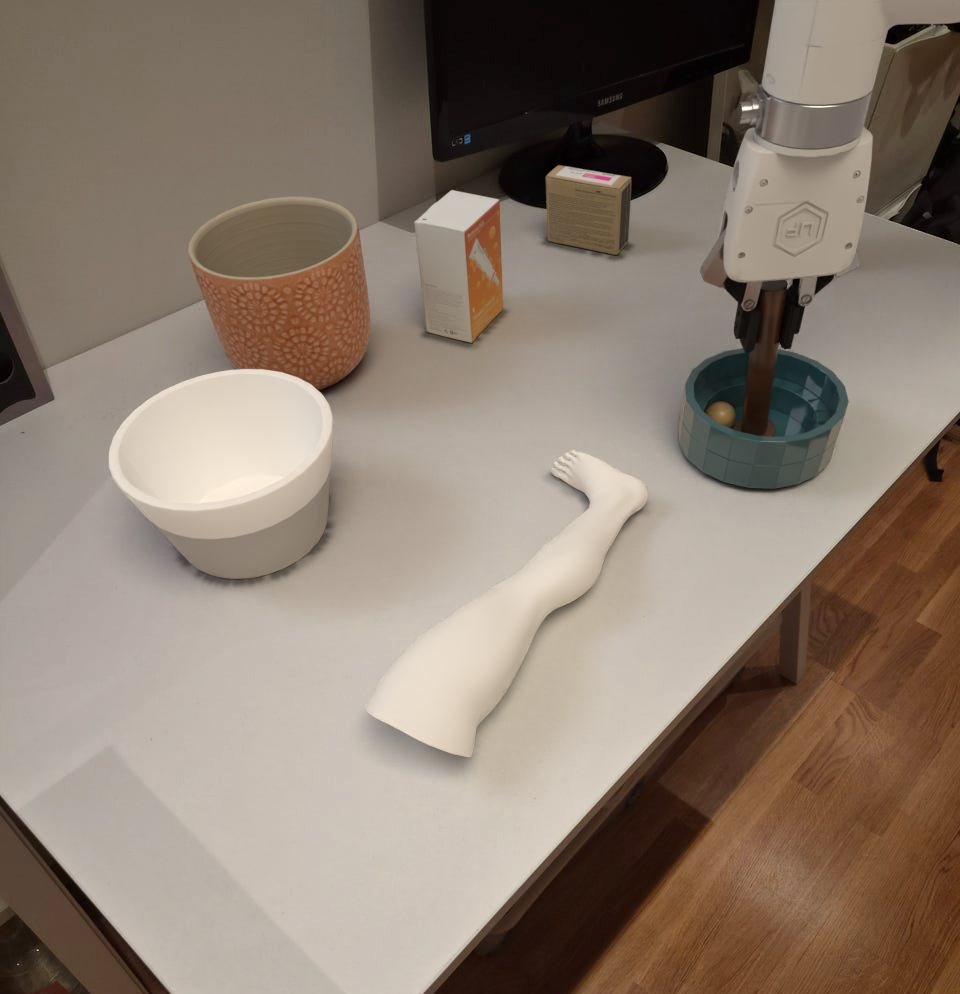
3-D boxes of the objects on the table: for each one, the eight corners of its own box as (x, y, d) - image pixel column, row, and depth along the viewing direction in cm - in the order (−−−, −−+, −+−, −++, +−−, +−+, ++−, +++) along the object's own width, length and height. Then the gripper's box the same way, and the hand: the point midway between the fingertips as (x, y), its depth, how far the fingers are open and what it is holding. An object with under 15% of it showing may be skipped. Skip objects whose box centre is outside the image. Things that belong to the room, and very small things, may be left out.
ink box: (629, 244, 111) (634, 175, 105) (616, 257, 109) (621, 189, 103) (558, 229, 115) (558, 162, 108) (544, 242, 113) (544, 174, 106)
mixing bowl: (858, 435, 85) (877, 383, 80) (780, 515, 79) (795, 463, 74) (729, 381, 92) (739, 330, 87) (648, 451, 85) (654, 400, 81)
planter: (365, 314, 104) (341, 184, 93) (394, 393, 94) (372, 258, 82) (224, 343, 102) (182, 213, 90) (239, 428, 92) (193, 293, 80)
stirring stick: (782, 432, 84) (807, 278, 72) (759, 455, 83) (780, 301, 70) (746, 418, 86) (764, 266, 74) (723, 440, 85) (737, 288, 72)
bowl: (362, 581, 77) (340, 489, 68) (144, 617, 76) (94, 527, 67) (347, 446, 89) (327, 354, 80) (159, 475, 88) (118, 385, 79)
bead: (743, 430, 85) (740, 402, 83) (716, 441, 84) (713, 414, 82) (725, 420, 87) (723, 392, 85) (699, 431, 87) (696, 404, 85)
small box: (472, 344, 99) (464, 231, 89) (425, 332, 101) (411, 221, 91) (505, 309, 103) (500, 197, 93) (459, 298, 105) (449, 188, 95)
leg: (330, 687, 61) (458, 747, 57) (555, 430, 81) (661, 462, 77) (344, 743, 66) (462, 801, 62) (552, 488, 86) (652, 520, 82)
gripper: (708, 146, 60) (679, 375, 74) (944, 124, 59) (869, 359, 74) (687, 104, 65) (664, 326, 79) (906, 83, 64) (843, 311, 79)
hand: (763, 340), depth 76 cm, fingers closed on stirring stick, 2 cm apart
